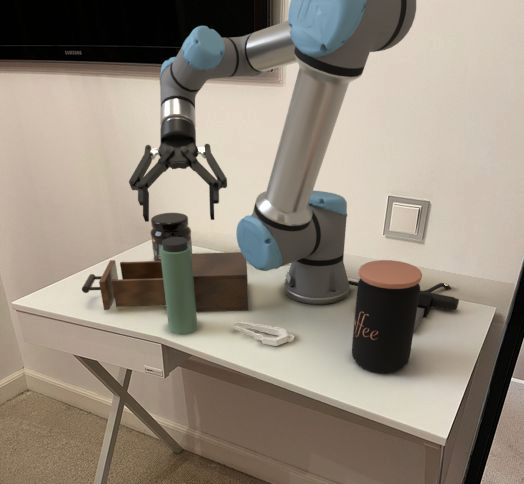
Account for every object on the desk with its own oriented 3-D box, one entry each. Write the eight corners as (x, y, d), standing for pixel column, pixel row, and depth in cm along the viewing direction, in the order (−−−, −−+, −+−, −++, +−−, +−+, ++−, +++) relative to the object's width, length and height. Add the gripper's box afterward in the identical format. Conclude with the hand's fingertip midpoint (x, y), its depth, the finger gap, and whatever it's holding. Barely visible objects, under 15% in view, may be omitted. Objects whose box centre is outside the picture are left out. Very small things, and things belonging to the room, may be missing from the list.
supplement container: (167, 252, 151) (163, 210, 145) (200, 257, 148) (197, 214, 141) (146, 265, 143) (140, 221, 137) (180, 271, 139) (176, 226, 133)
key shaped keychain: (227, 337, 109) (226, 330, 108) (237, 326, 113) (236, 319, 112) (287, 349, 105) (287, 341, 104) (295, 337, 109) (295, 329, 108)
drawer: (82, 310, 118) (76, 282, 115) (94, 287, 129) (89, 260, 126) (179, 307, 119) (176, 279, 116) (183, 284, 130) (180, 258, 126)
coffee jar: (345, 347, 106) (352, 261, 96) (398, 344, 106) (410, 258, 97) (358, 377, 97) (367, 285, 87) (416, 374, 97) (431, 282, 88)
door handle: (445, 329, 107) (461, 293, 118) (349, 308, 115) (373, 277, 126) (442, 343, 108) (458, 306, 120) (348, 322, 117) (372, 290, 128)
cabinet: (168, 313, 119) (164, 277, 115) (174, 287, 131) (170, 254, 126) (248, 310, 120) (247, 274, 115) (246, 285, 131) (245, 251, 127)
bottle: (201, 322, 115) (195, 237, 105) (190, 336, 110) (182, 247, 100) (176, 319, 117) (167, 234, 107) (163, 332, 112) (153, 244, 102)
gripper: (236, 137, 120) (239, 224, 115) (123, 140, 119) (122, 227, 114) (235, 115, 113) (239, 206, 108) (115, 117, 112) (113, 210, 107)
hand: (179, 217), depth 111 cm, fingers open, 13 cm apart
